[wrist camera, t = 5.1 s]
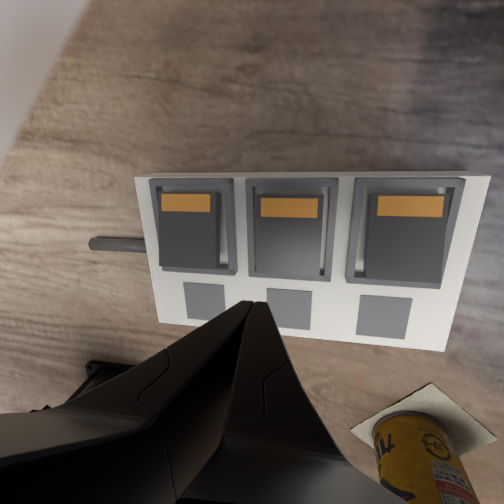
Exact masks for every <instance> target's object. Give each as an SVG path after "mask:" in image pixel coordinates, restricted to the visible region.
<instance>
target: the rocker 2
mask: <svg viewBox="0 0 504 504" xmlns="http://www.w3.org/2000/svg"><path fill="white" fill-rule="evenodd" d="M449 196H450V194H437V193H371V194H369V195H368V208H367V223H366V237H365V251H364V265H363V277H364V278H365V279H375V280H391V281H408V282H424V283H440V284H441V274H442V264H443V254H444V245H445V235H446V225H447V215H448V205H449Z"/></svg>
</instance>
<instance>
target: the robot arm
mask: <svg viewBox="0 0 504 504" xmlns="http://www.w3.org/2000/svg"><path fill="white" fill-rule="evenodd" d="M85 367H86V370H87V374H88V377H89V378H88V379H87V380H86V381H85V382H84V383H83V384H82V385H81V386H80V387H79V388H78V389H77V390H76V391H75V392H74V394H73V395H72V396H71V397H70V398H69V399H68V400H67V401H66V402H65V403H64V404H62V405H59V406H56V407H54V408H51V407H50V406H48V405H46V406H45V407H44V408H43V409H42V410H31V411H30V412H29V413H7V414H0V504H409V503H408V502H406V501H405V500H403V499H402V498H400V497H399V496H397V495H395V494H394V493H392V492H391V491H389V490H388V489H386V488H385V487H383V486H382V485H380V484H379V483H377V482H376V481H374V480H372V479H371V478H369V477H368V476H366V475H365V474H363V473H362V472H360V471H359V470H357V469H356V468H355V467H354V466H353V465H352V464H351V463H350V462H349V461H348V460H347V459H346V457H345V456H344V455H343V453H342V452H341V450H340V449H339V447H338V446H337V444H336V443H335V441H334V439H333V438H332V436H331V434H330V433H329V431H328V429H327V428H326V426H325V424H324V423H323V421H322V420H321V418H320V416H319V415H318V413H317V411H316V410H315V408H314V406H313V405H312V403H311V401H310V400H309V398H308V396H307V394H306V392H305V391H304V389H303V387H302V385H301V383H300V381H299V378H298V376H297V374H296V372H295V369H294V367H293V364H292V363H291V360H290V357H289V355H288V352H287V350H286V347H285V345H284V342H283V340H282V337H281V335H280V332H279V329H278V327H277V324H276V322H275V319H274V317H273V314H272V312H271V309H270V307H269V304H268V303H267V302H261V301H256V302H255V303H254V301H247V300H242V301H240V302H238V303H237V304H235V305H234V306H232V307H230V308H229V309H227V310H226V311H224V312H222V313H221V314H219V315H218V316H216V317H214V318H213V319H211V320H210V321H208V322H206V323H205V324H203V325H202V326H200V327H198V328H197V329H195V330H194V331H192V332H190V333H189V334H187V335H186V336H184V337H182V338H181V339H179V340H178V341H176V342H174V343H173V344H171V345H170V346H168V347H167V349H166V348H165V349H163V350H162V351H160V352H158V353H157V354H155V355H153V356H152V357H150V358H148V359H147V360H145V361H143V362H142V363H140V364H138V365H137V366H135V367H134V366H127V365H119V364H112V363H105V362H98V361H89V362H88V363H87V364H86V365H85Z"/></svg>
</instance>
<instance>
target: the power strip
mask: <svg viewBox="0 0 504 504" xmlns="http://www.w3.org/2000/svg"><path fill="white" fill-rule="evenodd" d="M490 179H491V176H489V175H484V174H480V173H475V172H470V171H359V172H202V173H151V174H146V175H142V176H137V177H134V180H135V185H136V191H137V197H138V203H139V209H140V215H141V221H142V226H143V232H144V238H145V240H136V239H112V238H91V239H90V240H89V247H90V249H91V250H102V251H122V252H141V253H147V256H148V262H149V268H150V273H151V279H152V285H153V291H154V297H155V303H156V309H157V314H158V320H159V322H160V323H170V324H180V325H189V326H199V327H200V326H202V325H203V324H205V323H206V322H208V321H210V320H211V319H213V318H214V317H216V316H218V315H219V314H221V313H222V312H224V311H226V310H227V309H229V308H230V307H232V306H234V305H235V304H237V303H238V302H240V301H242V300H247V301H254V303H255V302H256V301H261V302H267V303H268V304H269V307H270V309H271V312H272V314H273V317H274V319H275V322H276V324H277V327H278V329H279V332H280V335H287V336H297V337H306V338H316V339H326V340H335V341H345V342H355V343H365V344H374V345H384V346H394V347H404V348H413V349H423V350H433V351H443V352H444V351H445V347H446V343H447V340H448V336H449V332H450V328H451V325H452V321H453V317H454V313H455V310H456V306H457V302H458V298H459V295H460V291H461V287H462V283H463V280H464V276H465V272H466V269H467V265H468V261H469V257H470V254H471V250H472V246H473V242H474V239H475V235H476V231H477V227H478V224H479V220H480V216H481V212H482V209H483V205H484V201H485V197H486V194H487V190H488V186H489V182H490ZM158 191H161V192H218V193H221V208H220V267H219V268H217V269H215V270H213V269H197V268H181V267H165V266H159V227H158ZM371 193H437V194H450V196H449V205H448V215H447V225H446V235H445V245H444V254H443V264H442V274H441V284H440V283H424V282H408V281H391V280H375V279H365V278H364V277H363V265H364V251H365V237H366V223H367V208H368V195H369V194H371ZM257 194H324V205H323V222H322V239H321V256H320V272H319V277H314V276H298V275H282V274H266V273H256V195H257Z"/></svg>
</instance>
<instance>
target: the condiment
mask: <svg viewBox="0 0 504 504" xmlns="http://www.w3.org/2000/svg"><path fill="white" fill-rule="evenodd" d="M422 409H423V410H425V411H421V410H422ZM427 409H430V410H431V411H427ZM351 432H352V433H353V434H354V435H356V436H357V437H358V438H360V439H361V440H362V441H364V442H366V443H367V444H368V445H369V446H371V447H372V448H373V449H375V456H376V461H377V466H378V472H379V477H380V483H381V485H382V486H383V487H385V488H386V489H388V490H389V491H391V492H392V493H394V494H395V495H397V496H399V497H400V498H402V499H403V500H405V501H406V502H408V503H409V504H480V503H479V501H478V498H477V496H476V494H475V492H474V489H473V487H472V485H471V483H470V481H469V478H468V476H467V474H466V472H465V470H464V467H463V465H462V463H461V461H460V459H459V457H460V456H461V455H462V454H464V453H467V452H469V451H471V450H473V449H475V448H478V447H482V446H486V445H488V444H490V443H492V442H494V441H496V440H497V439H496V438H495V437H494V436H493V435H492V434H490V432H489V431H488V430H486V429H485V428H484V427H483V426H482V425H481V424H480V423H478V422H477V421H476V420H475V419H474V418H473V417H471V416H470V415H469V414H468V413H467V412H465V411H464V410H463V409H462V408H461V407H460V406H459V405H458V404H456V403H455V402H453V401H452V400H451V399H450V398H449V397H447V396H446V395H445V394H444V393H443V392H441V391H440V390H439V389H438V388H436V387H435V386H434V385H433V384H432V383H431V384H429V385H427V386H426V387H425V388H423V389H421V390H419V391H417V392H415V393H414V394H413V395H411V396H410V397H407V398H405V399H403V400H402V401H401V402H399V403H396V404H395V405H393V406H391V407H389V408H386V409H385V410H383V411H381V412H379V413H378V414H376V415H374V416H372V417H371V418H369V419H367V420H365V421H364V422H363V423H361V424H358V425H357V426H355V427H354V428H353V429H351Z"/></svg>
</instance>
